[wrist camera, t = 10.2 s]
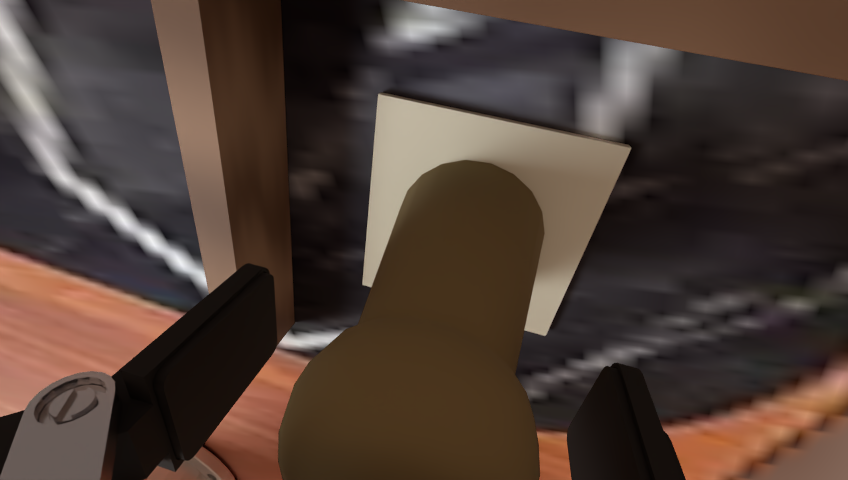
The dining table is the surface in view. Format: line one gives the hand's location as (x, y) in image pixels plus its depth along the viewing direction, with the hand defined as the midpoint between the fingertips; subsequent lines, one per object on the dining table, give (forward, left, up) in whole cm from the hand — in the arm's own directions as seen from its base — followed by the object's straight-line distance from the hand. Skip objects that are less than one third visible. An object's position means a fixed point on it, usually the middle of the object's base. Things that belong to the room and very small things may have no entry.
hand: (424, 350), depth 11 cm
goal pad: (+1, 0, -7) cm, 7 cm away
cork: (+1, 0, -7) cm, 7 cm away
